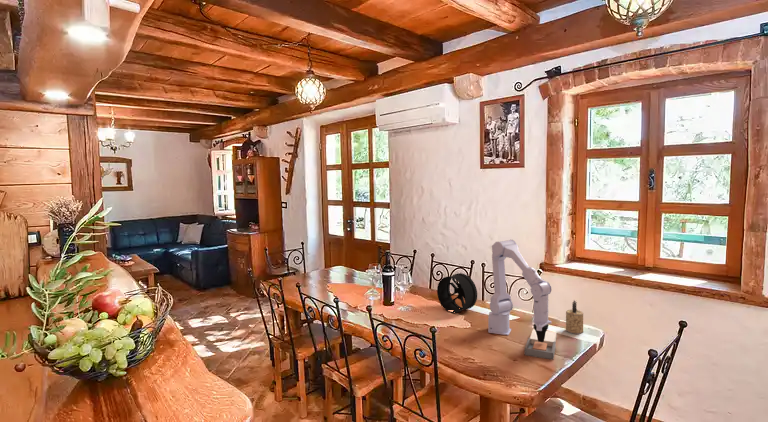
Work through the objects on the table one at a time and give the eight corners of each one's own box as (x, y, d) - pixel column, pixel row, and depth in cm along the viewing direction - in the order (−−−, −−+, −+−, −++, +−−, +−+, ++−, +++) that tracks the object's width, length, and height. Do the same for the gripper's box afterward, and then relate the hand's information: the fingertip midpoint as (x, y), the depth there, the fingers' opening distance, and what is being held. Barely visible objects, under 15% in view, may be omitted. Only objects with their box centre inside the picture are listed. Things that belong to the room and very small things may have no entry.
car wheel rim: (477, 312, 221) (477, 276, 219) (465, 317, 215) (465, 280, 213) (449, 304, 236) (448, 270, 235) (437, 308, 230) (436, 273, 228)
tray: (524, 355, 169) (524, 348, 168) (528, 343, 179) (528, 337, 179) (553, 359, 164) (553, 353, 163) (555, 347, 174) (555, 341, 174)
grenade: (585, 334, 187) (585, 302, 186) (568, 333, 189) (568, 302, 188) (580, 328, 195) (580, 297, 193) (564, 327, 196) (564, 297, 195)
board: (529, 344, 179) (529, 338, 179) (533, 334, 190) (533, 329, 189) (554, 347, 175) (554, 342, 174) (556, 337, 185) (556, 332, 185)
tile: (532, 352, 170) (532, 347, 170) (534, 346, 176) (534, 341, 176) (545, 354, 168) (545, 349, 168) (547, 347, 174) (547, 343, 174)
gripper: (549, 317, 164) (549, 349, 166) (552, 306, 177) (552, 336, 178) (531, 314, 168) (531, 346, 169) (535, 304, 180) (535, 334, 182)
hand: (541, 341), depth 174 cm, fingers closed
